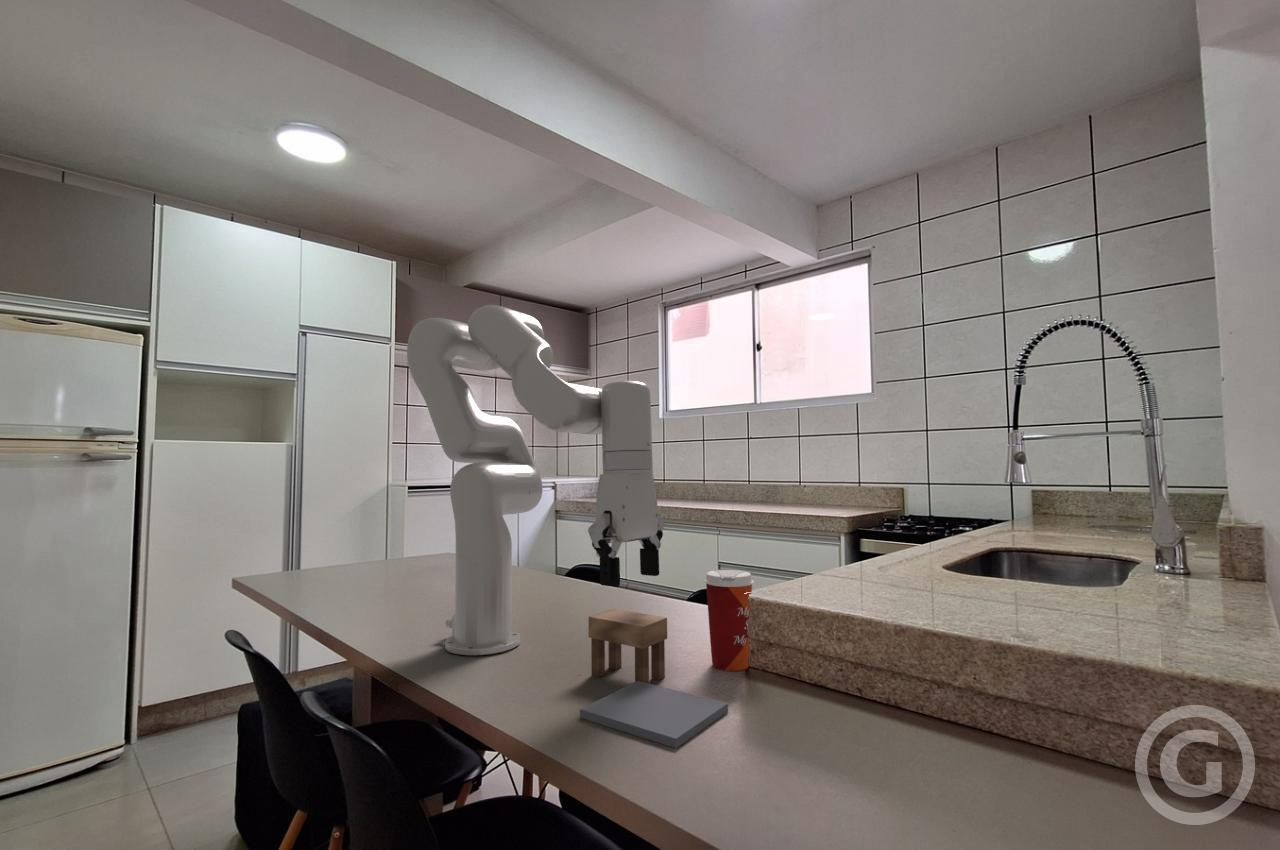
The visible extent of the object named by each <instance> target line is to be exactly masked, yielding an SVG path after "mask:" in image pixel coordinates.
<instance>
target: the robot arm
mask: <svg viewBox="0 0 1280 850" xmlns="http://www.w3.org/2000/svg"><path fill="white" fill-rule="evenodd" d="M543 329H544V328H543V326H542V325H541V323H540V322H539V321H538V320H537V319H536V318H535V317H534V316H532V315H529V314H527V313H524V312H522V311H517V310H514V309H512V308H508V307H505V306H501V305H495V304H488V305H483V306H481V307H478V308H477V309H475V310H474V311H473V312H472V313H471V315H470V316H469V318H468V321H467V323H465V322H462V321H458V320H454V319H450V318H449V319H448V318H441V317H431V318H430V317H429V318H426V319H425V318H424V319H422V320H420V321H419V322H417V323H416V324H415V325H414V326H413V328H412V329H411V331H410V334H409V337H408V341H407V346H406V347H407V348H406V357H407V358H406V359H407V366H408V369H409V371H410V372H409V373H410V374H411V378H412V379H413V381H414V383H415V385H416V387H417V389H418V390H419V392H420V394H421V396H422V398H423V400H424V402H425V405H426V407H427V409H428V412H429V416H430V419H431V421H432V423H433V427H434V430H435V432H436V434H437V435H436V436H437V438H438V440H439V443H440V445H441V448H442V450H443V453H444V454H445V455H446V457H447V458H448V459H450V460H451V461H453V462H456V463H462V464H463V463H464V464H465V463H466V465H464V466H462V467H461V468H459V469H458V470H457V471H456V473H455V474H454V475H453V477H452V479H451V482H450V488H449V489H450V490H449V492H450V493H449V494H450V496H449V497H450V501H451V507H452V513H453V519H454V528H455V529H454V531H455V573H454V574H455V575H454V576H455V579H454V580H455V581H454V582H455V583H454V584H455V585H454V615H453V616H452V617H451V619H450V618H449V619H447V620H446V621H445V623H444V624H445V627H446V628H449V629H451V636H449V637H447V639H446V640H445V641H444V648H445V649H444V650H446V651H447V652H448V653H451V654H455V655H459V656H460V655H461V656H484V655H485V656H486V655H493V654H499V653H504V652H506V651H507V652H508V651H509V650H512V649H515V648H516V647H518V645H520V643H521V635H520V633H518V632H516V631H513V630H512V583H513V582H512V578H513V577H512V574H513V573H512V570H513V569H512V567H513V565H512V564H513V563H512V561H513V560H512V559H513V557H512V553H513V552H512V551H513V548H512V547H513V546H512V536H511V533H510V530H509V527H508V525H507V522H506V520H505V519H504V516H505V515H506V516H507V515H516V514H517V515H518V514H524V513H527V512H529V511H532V510H533V509H535V508H536V507H537V506H538V504H539V503H540V501H541V500H542V496H543V481H542V477H541V474H540V471H539V468H538V466H537V464H536V461H535V459H534V456H533V454H532V452H531V449H530V447H529V445H528V442H527V439H526V437H525V435H524V433H523V430H522V429H521V428H520V426H519V425H518V424H517V423H516V422H515V420H513V419H512V418H510V417H509V416H506V415H503V414H499V413H490V412H488V413H487V412H484V411H483V410H481V408H480V407H479V405H478V403H477V401H476V399H475V395H474V394H473V392H472V389H471V387H470V386H469V384H468V383H467V382H466V381H465V379H464V378H463V376H461V375H460V373H458V371H456V369H455V368H454V367H457V368H463V369H469V370H474V371H491V370H496V369H501V370H502V371H504V373H506V374H507V375H508V376H509V377H510V378H511V387H512V390H513V391H512V392H513V394H514V396H515V398H516V400H517V402H518V403H519V405H521V407H523V408H524V410H526V411H527V412H528V413H529V414H530V415H531V416H532V417H533V418H534V419H535V420H537V421H538V422H539V423H540V424H542V425H543V427H545V428H547V429H550V430H553V432H559V433H570V434H571V433H572V434H580V435H581V434H584V435H594V436H596V435H597V436H598V435H601V445H602V447H601V450H602V454H601V455H602V457H601V458H602V473H601V474H600V475H599V477H598V484H597V491H596V504H595V521H594V522H593V523H592V524H591V525H590V526H589V527H588V528H587V532H588V535H589V538H590V540H591V546H592V548H593V549H594V550H595V555H596V557H597V558H599V583H600V585H601V586H606V587H614V588H616V587H617V588H618V587H619V586H620V585H621V565H620V562H621V561H620V557H618V556H617V555H618V553H619V550H620V548H621V545H622V544H623V543H629V542H630V543H631V542H635V541H636V542H637V541H638V542H639V543H640V545H641V547H642V548H639V569H640V571H639V572H640V574H641V575H642V576H651V577H657V576H659V575H660V554H659V553H660V551H659V550H660V549H661V545H662V544H661V541H662V538H663V536H664V532H663V530H664V527H665V523H666V519H665V517H663V516H661V515H660V514H659V511H658V501H657V500H658V499H657V491H656V490H657V489H656V486H655V484H656V483H655V478H654V473H653V472H654V470H653V468H654V467H653V439H652V436H653V435H652V433H653V431H652V407H651V405H652V404H651V391H650V390H651V389H650V387H649V386H648V385H647V384H646V383H645V382H641V381H636V380H635V381H634V380H620V381H619V380H618V381H612V382H609V383H607V384H605V385H603V387H602V388H599V387H593V386H587V385H584V384H583V385H582V384H577V383H572V382H567V381H565V380H563V379H562V378H560V377H559V376H558V375H557V374H555V372H553V371H552V370H551V369H550V368H551V366H552V363H553V359H554V352H553V348H552V346H551V345H550V344H549V343H548V342H547V341H546V340H545V333H544V330H543ZM610 544H611V546H610Z"/></svg>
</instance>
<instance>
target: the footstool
mask: <svg viewBox="0 0 1280 850" xmlns="http://www.w3.org/2000/svg"><path fill="white" fill-rule="evenodd" d="M588 638H590V639H591V642H590V643H591V644H590V645H591V646H590V647H591V658H590V659H591V661H590V662H591V676H593V677H597V678H601V677H603V676H605V675H606V667H605V666H606V649H605V648H606V647H605V646H606V643H605V642H608V668H609V669H612V670H618V669H620V668H622V645H623V646H629V647H633V648H634V682H636V681H641V682H645V683H649V684H650V677H651V679H652V680H656V681H661V680H663V679H664V678H665V677H666V671H665V670H666V668H665V667H666V666H665V665H666V663H665V662H666V661H665V658H666V656H665V655H666V654H665V650H666V649H665V648H666V647H665V640H667V639H668V618H667V617H664V616H659V615H653V614H646V613H641V612H635V611H629V610H623V609H616V608H612V609H608V610H606V611H603V612H599V613H596V614H593V615H590V616H588ZM649 650H650V652H649ZM650 653H651V655H650ZM650 656H651V657H650ZM649 657H650V658H649ZM649 659H650V661H651V664H650V661H649ZM649 665H651V667H650V666H649ZM649 668H651V671H650V669H649ZM650 672H651V673H650ZM650 675H651V676H650Z"/></svg>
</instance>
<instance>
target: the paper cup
mask: <svg viewBox="0 0 1280 850" xmlns="http://www.w3.org/2000/svg"><path fill="white" fill-rule="evenodd" d="M703 583H705V587H706V597H707V598H706V599H707V601H706V602H707V614H708V625H709V627H708V628H709V639H710V641H709V643H710V652H711V653H710V655H711V664H712V667H713V668H714V669H716V670H720V671H723V672H740V671H745V670H747V669H749V666H748V656H749V657H750V653H749V638H748V635H747V632H748V620H749V619H748V618H749V611H750V605H749V602H748V597H749V594H753V593H747V594H744V593H746V592H753V591H752V590H753V585H754V584H755V581H754V580H753V577H752V575H751V573H750V572H748V571H744V570H738V569H737V570H736V569H719V570H718V569H717V570H711V571H708V572H707V573H706V577H705V578H704V582H703Z"/></svg>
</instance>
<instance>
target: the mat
mask: <svg viewBox="0 0 1280 850" xmlns="http://www.w3.org/2000/svg"><path fill="white" fill-rule="evenodd" d="M727 713H729V703H728V702H724V701H720V700H716V699H711V698H709V697H708V698H707V697H704V696H700V695H696V694H692V693H689V692H684V691H680V690H676V689H672V688H668V687H665V686H660V685H656V684H652V683H650V682H649V683H645V682H641V681H636V682H635V681H634V682H632V683H630V684H628V685H627V686H624V687H622V688H620V689H618V690H617V691H615V692H612V693H610V694H608V695H606V696H604V697H602V698H600V699H598V700H596V701H593V702H592V703H589V704H588V705H586V706H584V707H581V708H579V718H580V719H582V720H585V721H590V722H593V723H596V724H599V725H602V726H606V727H609V728H611V729H614V730H617V731H621V732H623V733H627V734H630V735H634V736H637V737H639V738H643V739H646V740H649V741H653V742H655V743H660V744H661V745H662V744H663V745H666V746H668V747H671V748H674V749H677V748H679V747H680V746H681V745H683V744H685V743H686V742H688V741H689V740H690V739H691V738H693V737H694V736H696V735H697V734H698V733H700V732H701V731H704V729H705V728H707V727H708V726H710V725H712V724H713V723H714V722H715V721H717V720H718V719H720V718H721V717H722V716H724V715H726V714H727Z"/></svg>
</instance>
